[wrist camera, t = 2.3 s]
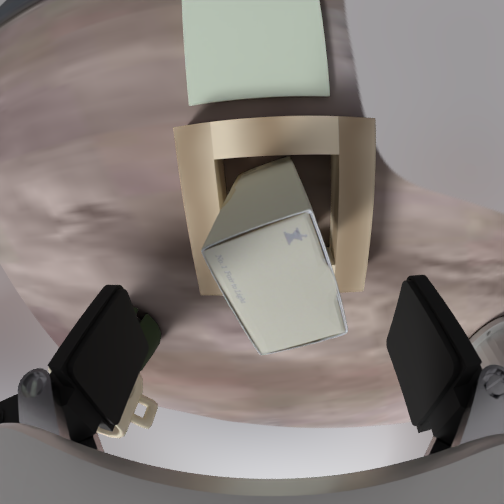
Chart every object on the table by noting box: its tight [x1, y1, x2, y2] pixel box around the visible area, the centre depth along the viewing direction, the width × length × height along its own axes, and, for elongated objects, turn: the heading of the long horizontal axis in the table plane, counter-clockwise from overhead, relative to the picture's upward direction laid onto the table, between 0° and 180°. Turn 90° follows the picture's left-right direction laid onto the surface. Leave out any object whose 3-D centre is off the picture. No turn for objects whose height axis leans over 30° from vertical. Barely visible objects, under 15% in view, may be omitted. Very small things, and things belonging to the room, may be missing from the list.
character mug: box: [48, 307, 161, 438], centre depth 23 cm, size 11×7×13 cm, turn 60°
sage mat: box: [182, 0, 330, 106], centre depth 15 cm, size 10×10×1 cm
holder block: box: [173, 116, 376, 295], centre depth 20 cm, size 13×13×3 cm
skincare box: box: [201, 156, 348, 355], centre depth 16 cm, size 6×4×12 cm
